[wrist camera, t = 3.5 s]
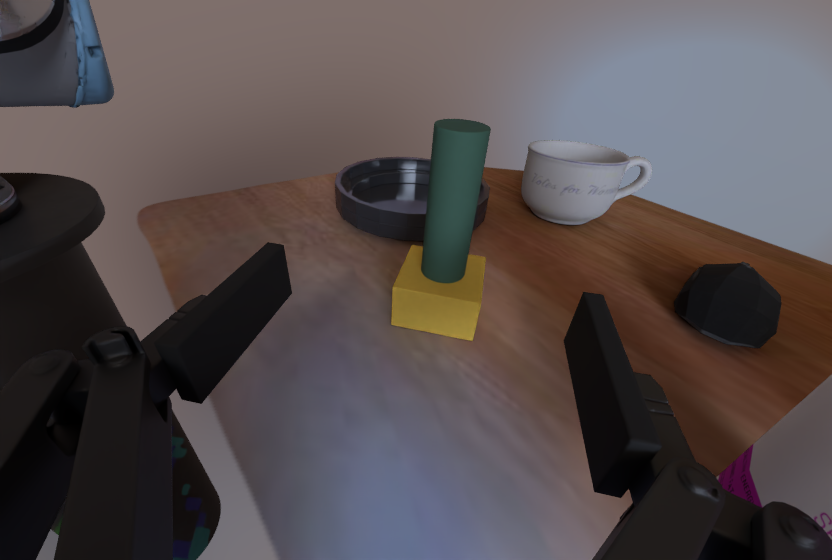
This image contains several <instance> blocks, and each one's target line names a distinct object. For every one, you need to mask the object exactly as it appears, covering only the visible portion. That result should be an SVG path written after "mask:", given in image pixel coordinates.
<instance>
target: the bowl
mask: <svg viewBox="0 0 832 560" xmlns="http://www.w3.org/2000/svg"><path fill="white" fill-rule="evenodd" d="M430 165H431V159H423V158H414V157H386V158H376V159H370V160H365V161H360V162H357V163H355V164H352V165H349V166H347V167H345V168H344V169H343V170H341V171H340V172H339V173H338V174H337V175H336V180H335V195H336V208H337V209H338V211H339V213H340V214H341V216H342V218H343V219H344V220H346V221H347V222H349V223H350V224H352V225H353V226H355V227H356V228H358V229H361V230H363V231H366V232H369V233H372V234H375V235H377V236H381V237H387V238H393V239H399V240H405V241H424V230H425V220H426V209H427V198H428V187H429V176H430ZM489 191H490V187H489V186H488V184H487V183H486V181H485V180H484V179H483V178H482V180H481V186H480V192H479V197H478V203H477V208H476V214H475V220H474V225H473V230H475V229H476V228H477V227H478V226H479V225H480V224H481V223H482V222H483V221H484V218H485V213H486V208H487V203H488V198H489Z"/></svg>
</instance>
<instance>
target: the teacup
mask: <svg viewBox="0 0 832 560" xmlns="http://www.w3.org/2000/svg"><path fill="white" fill-rule="evenodd" d="M528 151H529V152H528V156H527V160H526V165H525V169H524V174H523V180H522V187H521V193H522V197H523V200H524V202H525V203H526V204H527V205H528V206H529V207H530V209H531V211H532V212H533V213H534V214H535V215H536V216H538V217H540V218H542V219H544V220H547V221H550V222H554V223H558V224H566V225H580V224H584V223H587V222H589V221H590V220H592V219H595V218H597V217H599V216H601V215H603V214H604V213H605V212H606V211H607V210H608V209H609V208H610V206H611V204H612V203H613V202H615V201H616V200H618V199H620V198H623V197H626V196H628V195H631V194H633V193H635V192H636V191H638V190H640V189H641V188H642V187H643V186H645V185H646V184H647V183H648V181H649V179H650V177H651V174H652V166H651V164H650V162H649V161H648V160H647V159H645V158H643V157H640V156H634V157H630V158H629V156H627V155H626V154H624V153H622V152H619V151H617V150H615V149H610V148H607V147H603V146H598V145H593V144H587V143H580V142H572V141H560V140H551V141H550V140H544V141H535V142H532V143H530V144H529V146H528ZM633 166H639V167H640V168H641V172H640V175H639V177H638V178H637V179H636V180H635V181H634V182H633V183H631V184H630V185H628V186H626V187H624V188H621V189H618V188H619V186H620V183H621V180H622V178H623V175H624V173H625V172H626V171H627V170H628V169H629V168H631V167H633Z"/></svg>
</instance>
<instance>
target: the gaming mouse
mask: <svg viewBox="0 0 832 560" xmlns="http://www.w3.org/2000/svg"><path fill="white" fill-rule="evenodd" d="M749 265H750V264H748V263H745V262H741V263H736V264H705V265H704V266H702V267H699V268H698V270H697V271H695V272H694V273H693V274H692V276H691V277H690V278H689V279H688V281H687V282H686V283H685V285H684V286H683V288H682V290H681V291H680V293H679V295H678V296H677V298H676V300H675V301H674V305H675V311H676V313H677V314H679V315H680V316H681V317H682V318H684V319H685V320H686V321H687V322H689V323H690V324H691V325H692V326H693V327H695V328H696V329H697V330H698V331H699V332H701V333H702V334H704V335H707V336H709V337H711V338H713V339H716V340H718V341H720V342H722V343H725V344H729V345H737V346H744V347H751V348H761V347H762V346H763V345H764V344H765V343H766V342H767V341H768V340H769V339H770V338H771V337H772V336H773V335H775V334H776V332H777V326H778V321H779V315H780V309H781V296H780V294H779V293H778V292H777V291H776V290H775V289H774V288H773V287H772V286H771V285H770V284H769V283H768V282H767V281H766V280H765V279H764V278H763V277H762V276H761V275H760V274H759V273H758V272H756V270H755V269H754V268H753V267H750V266H749Z"/></svg>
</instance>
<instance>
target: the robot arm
mask: <svg viewBox="0 0 832 560" xmlns="http://www.w3.org/2000/svg"><path fill="white" fill-rule="evenodd" d="M113 95H114V88H113V84H112V80H111V76H110V73H109V69H108V66H107V62H106V58H105V55H104V51H103V48H102V44H101V41H100V38H99V34H98V30H97V27H96V23H95V20H94V16H93V13H92V9H91V6H90V2H89V0H0V107H20V106H70V107H79V106H80V105H90V104H103V103H106V102H108V101H110V100H111V99H112V97H113ZM21 208H22V201H21V200H20V198H19V196H18V195H17V193H16V191H15V190H14V188H13V186H12V185H10V184H9V183H8V182H7V181H6V180H5V179H3V178H2V177H1V176H0V225H1V224H3V223H5V222H6V221H8V220H10V219H11V218H13V217H14V216H15V215H16V214H17V213H18V212H19V211H20V210H21ZM291 294H292V291H291V285H290V279H289V273H288V267H287V262H286V256H285V250H284V245H281V244H275V243H269V242H268V243H267V244H266V245H264V246H263V247H262V248H261V249H260V250H259V251H258V252H256V253H255V254H254V255H253V256H252V257H251V258H250V259H248V260H247V261H246V262H245V263H244V264H243V265H242V266H241V267H239V268H238V269H237V270H236V271H235V272H234V273H233V274H231V275H230V276H229V277H228V278H227V279H226V280H225V281H223V282H222V283H221V284H220V285H219V286H218V287H217V288H215V289H214V290H213V291H212V292H211V293H210V294H209V295H208V296H206V295H200V296H198V297H196V298H194V299H192V300H190V301H188V302H187V303H186V304H184V305H183V306H182V307H181V308H180V309H179V310H177V312H175V313H174V314H173V315H171V316H170V317H169V319H167V320H166V321H164V322H163V323H162V324H161V325H160V326H158V327H157V328H156V329H155V330H154V331H153V332H151V333H150V334H149V335H148V336H147V337H145V338H144V339H143V340H142V341H141V342H140V341H139V339H138V337H137V335H136V333H135V331H134V330H133V329H132V328H130V327H126V326H117V327H111V328H108V329H105V330H102V331H100V332H98V333H96V334H94V335H92V336H91V337H90V338H89V339H88V340H86V341H85V343H84V344H83V346H82V348H83V350H84V351H85V353H86V354H87V356H88V358H89V360H76V359H75V357H74V356H73V354H72V353H71V352H70V351H68V350H65V349H56V350H51V351H47V352H44V353H41V354H39V355H36V356H34V357H33V358H31V359H29V360H28V361H26V362H25V363H24V364H23V365H22V366H20V367H19V368H18V370H17V371H16V372H15V373H14V375H13V376H12V377H11V378H10V380H9V381H8V382H7V383H6V385H5V386H4V387H3V388H2V390H1V391H0V560H36V558H37V556H38V554H39V551H40V550H41V548H42V546H43V543H44V541H45V539H46V537H47V535H48V533H49V531H50V529H51V527H52V525H53V523H54V521H55V519H56V517H57V514H58V512H59V510H60V508H61V506H62V504H63V502H64V500H65V498H66V496H67V499H66V504H65V509H64V514H63V519H62V523H61V528H60V533H59V538H58V543H57V547H56V552H55V557H54V560H173V514H172V403H171V400H170V398H169V396H170V395H171V394H172V393H173V391H174V390H175V389H177V391H178V393H179V395H180V397H181V399H182V400H186V401H191V402H196V403H200V404H202V403H203V401H204V400H205V399H206V398H207V396H208V395H209V394H210V393H211V392H212V390H213V389H214V388H215V387H216V385H217V384H218V383H219V382H220V381H221V379H222V378H223V377H224V376H225V374H226V373H227V372H228V371H229V370H230V368H231V367H232V366H233V365H234V363H235V362H236V361H237V360H238V359H239V357H240V356H241V355H242V354H243V352H244V351H245V350H246V349H247V348H248V346H249V345H250V344H251V343H252V341H253V340H254V339H255V338H256V337H257V335H258V334H259V333H260V332H261V330H262V329H263V328H264V327H265V326H266V324H267V323H268V322H269V321H270V319H271V318H272V317H273V316H274V315H275V313H276V312H277V311H278V310H279V308H280V307H281V306H282V305H283V304H284V302H285V301H286V300H287V299H288V298H289V296H290V295H291ZM564 345H565V350H566V355H567V360H568V364H569V369H570V374H571V379H572V384H573V389H574V394H575V399H576V404H577V409H578V414H579V419H580V424H581V429H582V434H583V439H584V444H585V448H586V453H587V458H588V463H589V468H590V473H591V478H592V483H593V488H594V492H597V493H601V494H606V495H610V496H615V497H619V498H621V497H622V496H623V495H624V494H625V492H626V491H627V490H628V489H629V490H630V493H631V497H632V501H633V503H632V504H631V505H630V507H629V508H628V509H627V510H626V511H625V512H624V514H623V515H622V516H621V517H620V521H619V522H618V524H617V525H616V526H615V528H614V529H613V531H612V532H611V534H610V535H609V536H608V538H607V539H606V541H605V542H604V543H603V545H602V546H601V548H600V549H599V551H598V552H597V553H596V555H595V556H594V558H593V559H592V560H832V540H831V538H830V537H829V536H828V534H827V533H826V532H825V530H824V529H823V528H822V527H821V526H820V525H819V524H818V523H817V522H816V521H814V520H813V519H812V518H811V517H810V516H809V515H807V514H806V513H804V512H802V511H801V510H799V509H798V508H796V507H794V506H791V505H789V504H787V503H784V502H776V501H772V502H770V503H768V504H766V505H765V506H764V507H760V506H758V505H755V504H753V503H751V502H749V501H747V500H745V499H743V498H741V497H739V496H737V495H734V494H732V493H730V492H729V491H727V490H725V489H723V487H722V485H721V484H720V482H719V481H718V480H717V478H716V477H715V476H714V475H713V474H712V473H711V472H710V471H709V470H708V469H706V468H705V467H704V466H702V465H701V464H699V463H697V462H696V461H695V459H694V457H693V455H692V452H691V450H690V448H689V446H688V444H687V441H686V439H685V437H684V435H683V433H682V430H681V428H680V426H679V424H678V422H677V419H676V417H674V413H673V411H672V409H671V406H670V405H669V404H668V403H669V402H668V400H667V398H666V395H665V393H664V391H663V389H662V388H661V386H660V385H659V384H658V383H657V382H656V381H655V380H654V379H653V378H652V376H651V375H647V374H641V373H636V372H633V370H632V368H631V365H630V362H629V360H628V357H627V355H626V352H625V350H624V347H623V345H622V342H621V339H620V337H619V334H618V332H617V329H616V327H615V324H614V322H613V319H612V316H611V314H610V311H609V309H608V306H607V304H606V301H605V298H604V296H603V295H601V294H594V293H588V292H583V294H582V297H581V299H580V302H579V304H578V307H577V309H576V311H575V314H574V316H573V319H572V321H571V324H570V326H569V329H568V331H567V334H566V336H565V339H564ZM50 417H51V418H50ZM49 418H50V420H49ZM48 420H49V421H48ZM67 494H68V495H67Z"/></svg>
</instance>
